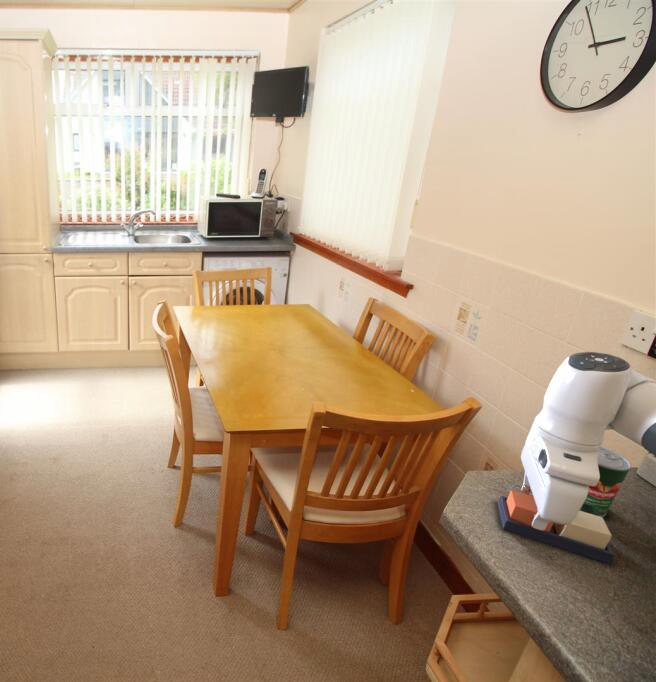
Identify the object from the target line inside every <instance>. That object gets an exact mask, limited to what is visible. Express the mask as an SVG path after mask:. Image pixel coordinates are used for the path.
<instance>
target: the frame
mask: <svg viewBox="0 0 656 682" xmlns="http://www.w3.org/2000/svg"><path fill="white" fill-rule="evenodd" d="M507 499H508V497H507V496H503V495H500V496H499V498H498V501H497V508H498V512H499V516H500V522H501V526H502V530H504V531H507V532H511V533H514V534H517V535H520V536H523V537H525V538H528V539H532V540H534V541H537V542H541V543H544V544H546V545H547V544H548V545H551V546H554V547H557V548H560V549H563V550H566V551H568V552H572V553H575V554H577V555H581V556H584V557H587V558H590V559H594V560H596V561H600V562H603V563H606V564H609V565H610V564H611V563H612V560H613V558H614V556H615V553H614V551H613V549H612V547H611V544H610V542H608V544H607V546H606V548H605V549H600V548H597V547H594V546H591V545H588V544H585V543H582V542H578V541H575V540H572V539H569V538H566V537H563V536H560V535H557V533H556V530H555V528H554V525H553V526H552V528H551V530H550V532H547V531H544V530H539V529H535V528H533V527H531V526H528V525H525V524H522V523H519V522H516V521H512V520H510V517H509V513H508V509H507V505H506V501H507Z"/></svg>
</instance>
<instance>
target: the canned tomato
mask: <svg viewBox="0 0 656 682" xmlns="http://www.w3.org/2000/svg"><path fill="white" fill-rule="evenodd" d="M598 468H599V474H600V479H599V481H598V483H597V485H596V486H589V491H588V494H587V497H586V499H585V501H584V503H583V505H582V507H581V508H580V510H579V511H582V512H586V513H589V514H593V515H596V516H599V517H602V518H604V517H605V516H606V515H607V513H608V511H609V509H610V508H611V506H612V504H613V501H614V500H615V498H616V497H617V494H618V492H619V491H620V489H621V487H622V484H623V483H624V481H625V479H626V477H627V476H628V474H629V472H630V470H631V469H632V463H631V461H629V460H628V459H627V458H626V457H624V456H622V455H621V454H619V453H618V452H615V451H614V450H610V449H608V448H605V447H603V446H600V449H599V456H598Z"/></svg>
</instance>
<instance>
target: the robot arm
mask: <svg viewBox="0 0 656 682" xmlns="http://www.w3.org/2000/svg"><path fill="white" fill-rule="evenodd" d="M608 430H609V431H610V430H612V431H614V432H615V433H617V434H619V435H621V436H623V437H625V438H626V439H628V440H630V441H632V442H633V443H635V444H637V445H639V446H640V447H642V448H643V449H644V450H645V451H647V452H648V453H650V454H651V455H653V456H654V457H656V379H653V378H650V377H649V376H646V375H644V374H641V373H639V372H637V371H635V370H634V369H632V367H631V365H630V363H629V362H628V361H627V360H625V359H623V358H621V357H619V356H616V355H612V354H609V353H604V352H595V351H582V352H576V353H572V354H570V355H569V356H567V357H566V358H565V359H564V360H563V362H562V363H561V364H560V365H559V366H558V368H557V370H556V372H555V373H554V375H553V377H551V380H550V382H549V385H548V387H547V389H546V391H545V394H544V396H543V406H542V409H541V410H540V412H539V413H538V414H537V415H536V416H535V418H534V420H533V422H532V425H531V426H530V429H529V433H528V434H527V437H526V440H525V441H524V446H523V448H522V450H521V454H520V460H521V463H522V466H523V469H524V476H523V484H522V486H521V488H520V491H521V493H523V494H527V495H530V496H533V497H534V499H535V502H536V505H537V508H538V509H537V510H538V513H537V514H536V515H535V514H533V516H532V519H531V524H532V527H533V528H535V529H539V530H545V529H546V527H547V524H548V523H550V522H554V523H558V524H561V525H567V524H570V523H571V522H572V521H573V520H574V518H575V517H576V515H577V514H578V512H579V510H580V508H581V507H582V505H583V503H584V501H585V499H586V497H587V494H588V491H589V486H596V485H597V483H598V481H599V479H600V474H599V468H598V456H599V449H600V447H602V445H603V442H604V439H605V431H608Z"/></svg>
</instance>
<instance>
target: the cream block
mask: <svg viewBox="0 0 656 682" xmlns="http://www.w3.org/2000/svg"><path fill="white" fill-rule="evenodd" d="M553 525H554V528H555V530H556V533H557V535H560V536H563V537H566V538H569V539H572V540H575V541H578V542H582V543H585V544H588V545H591V546H594V547H597V548H600V549H605V548H606V546H607V544H608V543H610V542H609V541H611V538H612V537H613V535H612V533H611V531H610V530H609V527H608V525H607V523H606V521H605V520H604V517H599V516H596V515H593V514H589V513H586V512H582V511H579V512H578V514H577V515H576V517H575V518H574V520H573V521H572V522H571V523H570V524H567V525H561V524H558V523H554V524H553Z"/></svg>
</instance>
